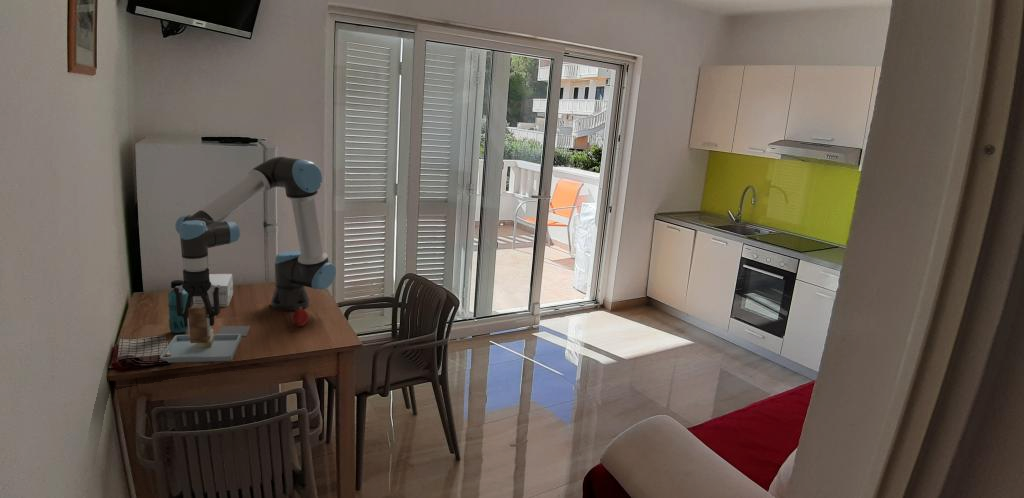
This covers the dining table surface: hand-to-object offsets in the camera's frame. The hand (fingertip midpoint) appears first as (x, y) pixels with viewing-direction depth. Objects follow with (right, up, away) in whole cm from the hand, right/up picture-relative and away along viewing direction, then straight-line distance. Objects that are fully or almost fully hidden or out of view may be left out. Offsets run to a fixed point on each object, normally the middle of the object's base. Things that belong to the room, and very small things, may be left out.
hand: (200, 334), depth 198 cm
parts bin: (-2, -6, +5) cm, 8 cm away
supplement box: (-22, +7, +53) cm, 57 cm away
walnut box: (0, -2, 0) cm, 2 cm away
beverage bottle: (-16, -2, +17) cm, 24 cm away
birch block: (-3, -5, +9) cm, 10 cm away
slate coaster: (+1, -2, +22) cm, 22 cm away
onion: (+22, -2, +33) cm, 39 cm away
